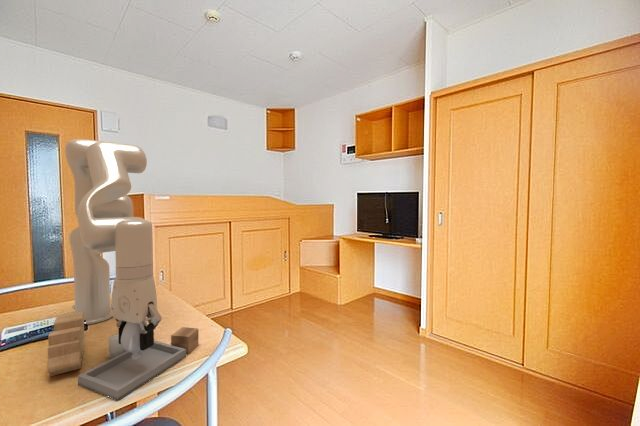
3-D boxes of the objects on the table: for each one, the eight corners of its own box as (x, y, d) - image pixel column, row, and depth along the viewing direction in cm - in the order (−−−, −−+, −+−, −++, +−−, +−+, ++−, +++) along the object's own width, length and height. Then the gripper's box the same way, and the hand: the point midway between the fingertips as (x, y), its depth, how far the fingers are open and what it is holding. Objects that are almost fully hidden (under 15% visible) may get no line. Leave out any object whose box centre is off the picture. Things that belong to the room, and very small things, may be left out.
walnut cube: (171, 353, 80) (171, 335, 79) (182, 344, 84) (181, 327, 84) (188, 354, 79) (188, 336, 79) (198, 345, 84) (198, 328, 84)
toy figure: (146, 366, 67) (145, 315, 67) (114, 371, 65) (113, 318, 65) (155, 344, 77) (154, 299, 77) (128, 347, 75) (127, 301, 75)
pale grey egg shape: (104, 357, 77) (104, 339, 76) (123, 348, 81) (123, 331, 81) (117, 362, 75) (117, 343, 74) (136, 352, 79) (135, 334, 79)
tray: (78, 385, 66) (77, 375, 65) (150, 346, 82) (150, 339, 82) (117, 401, 61) (117, 390, 61) (186, 357, 78) (186, 349, 77)
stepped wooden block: (47, 383, 66) (46, 340, 65) (58, 350, 80) (57, 314, 79) (79, 375, 69) (78, 334, 68) (84, 344, 83) (83, 310, 82)
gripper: (94, 271, 70) (96, 344, 71) (146, 280, 63) (148, 360, 64) (125, 264, 77) (126, 331, 78) (175, 272, 70) (176, 344, 71)
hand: (136, 343), depth 71 cm, fingers closed on toy figure, 6 cm apart
